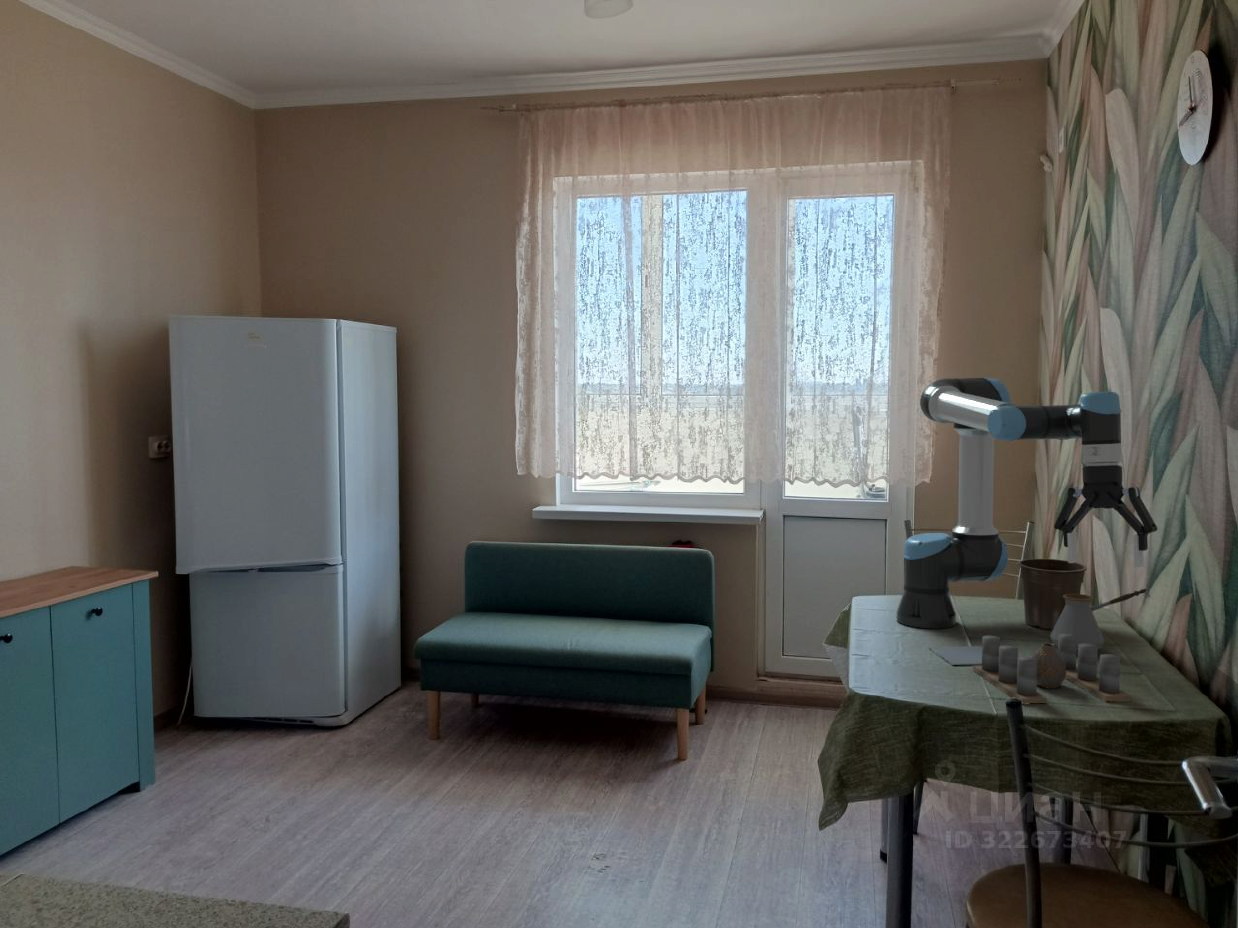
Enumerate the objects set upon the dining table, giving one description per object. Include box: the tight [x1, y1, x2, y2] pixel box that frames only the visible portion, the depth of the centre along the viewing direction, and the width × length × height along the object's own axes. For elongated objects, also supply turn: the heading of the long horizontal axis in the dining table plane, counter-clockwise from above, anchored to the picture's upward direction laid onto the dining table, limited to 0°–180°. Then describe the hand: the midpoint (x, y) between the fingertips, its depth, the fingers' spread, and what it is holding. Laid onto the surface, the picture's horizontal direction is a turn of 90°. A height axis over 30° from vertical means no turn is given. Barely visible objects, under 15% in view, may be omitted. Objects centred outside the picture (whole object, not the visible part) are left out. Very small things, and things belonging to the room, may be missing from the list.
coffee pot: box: [1049, 588, 1151, 653], centre depth 219 cm, size 21×12×15 cm, turn 81°
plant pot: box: [1018, 558, 1088, 631], centre depth 243 cm, size 16×16×16 cm
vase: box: [1031, 642, 1066, 689], centre depth 194 cm, size 7×7×9 cm
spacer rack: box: [972, 634, 1131, 705], centre depth 194 cm, size 22×22×8 cm
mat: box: [928, 645, 982, 666], centre depth 216 cm, size 14×14×1 cm
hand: (1105, 564), depth 198 cm, fingers open, 13 cm apart
